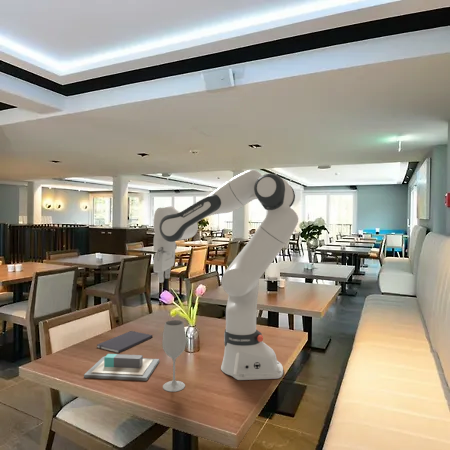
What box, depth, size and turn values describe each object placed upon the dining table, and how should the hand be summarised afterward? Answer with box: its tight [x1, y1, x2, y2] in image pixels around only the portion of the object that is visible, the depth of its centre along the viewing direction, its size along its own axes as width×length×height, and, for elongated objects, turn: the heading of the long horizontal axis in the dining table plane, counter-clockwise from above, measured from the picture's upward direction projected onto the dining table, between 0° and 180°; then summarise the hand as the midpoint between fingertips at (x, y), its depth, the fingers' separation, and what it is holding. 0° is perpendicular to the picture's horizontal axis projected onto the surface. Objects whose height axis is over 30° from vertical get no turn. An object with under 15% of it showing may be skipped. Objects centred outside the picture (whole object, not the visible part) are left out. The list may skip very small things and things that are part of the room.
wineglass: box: [161, 319, 187, 393], centre depth 119 cm, size 8×8×21 cm
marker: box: [104, 353, 144, 368], centre depth 132 cm, size 13×3×3 cm, turn 85°
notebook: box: [96, 330, 153, 354], centre depth 160 cm, size 13×2×21 cm
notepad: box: [83, 356, 160, 382], centre depth 132 cm, size 22×16×1 cm
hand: (164, 280), depth 150 cm, fingers open, 8 cm apart
